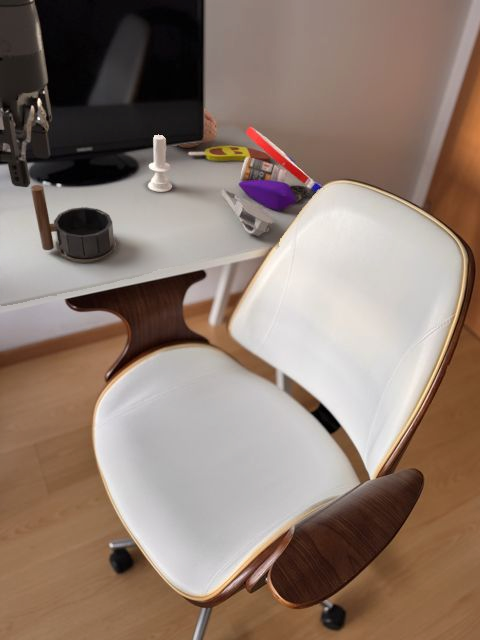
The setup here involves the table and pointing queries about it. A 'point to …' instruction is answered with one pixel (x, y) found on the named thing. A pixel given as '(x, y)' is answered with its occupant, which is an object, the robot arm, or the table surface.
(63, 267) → the table surface
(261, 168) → the pill bottle
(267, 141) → the red toothbrush
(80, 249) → the wooden handled pot
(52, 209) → the table surface
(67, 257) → the round base
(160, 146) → the candle
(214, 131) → the anatomical model
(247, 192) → the purple lump
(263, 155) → the popsicle
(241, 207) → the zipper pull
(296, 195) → the corroded twin loop
